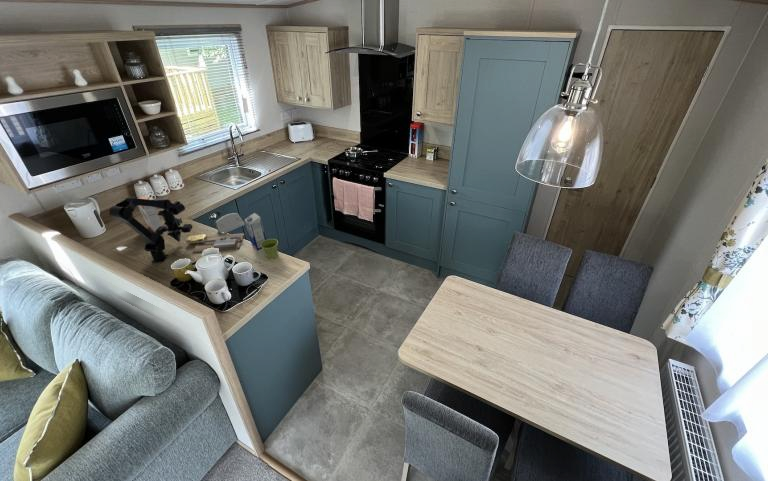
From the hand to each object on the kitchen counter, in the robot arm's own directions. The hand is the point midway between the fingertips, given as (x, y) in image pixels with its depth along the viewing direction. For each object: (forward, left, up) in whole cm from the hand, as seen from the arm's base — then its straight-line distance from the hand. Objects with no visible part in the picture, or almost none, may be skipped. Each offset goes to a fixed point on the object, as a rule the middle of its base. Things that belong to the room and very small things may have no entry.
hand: (179, 241), depth 207 cm
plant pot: (-23, -58, -2) cm, 62 cm away
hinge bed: (-4, -24, -2) cm, 24 cm away
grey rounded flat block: (+15, -26, -2) cm, 30 cm away
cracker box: (+22, +23, -2) cm, 31 cm away
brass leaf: (0, -10, -1) cm, 10 cm away
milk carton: (-11, -49, -2) cm, 50 cm away
